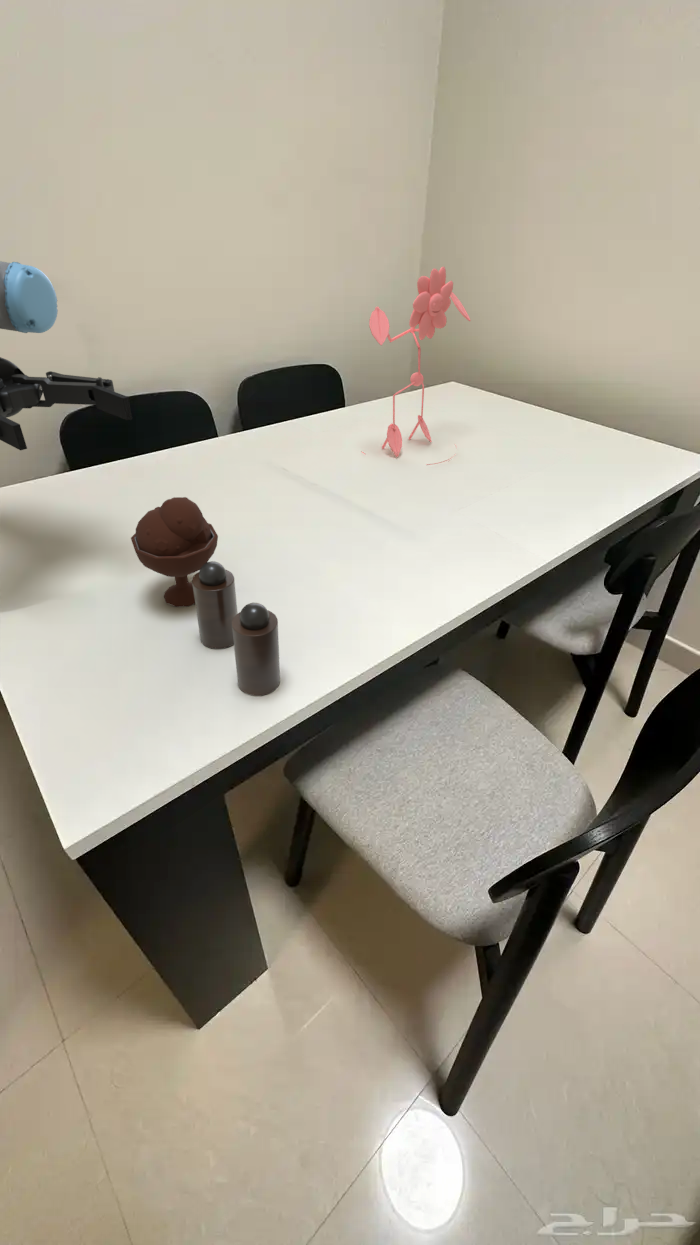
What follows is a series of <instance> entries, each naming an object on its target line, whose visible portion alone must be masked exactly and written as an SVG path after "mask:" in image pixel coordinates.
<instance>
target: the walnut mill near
mask: <svg viewBox="0 0 700 1245" xmlns="http://www.w3.org/2000/svg"><path fill="white" fill-rule="evenodd" d="M278 621H279V620H278V617H277V616H276V614H275V613H273V612H272V611H270V610H268V608H267V607H266V606H265V605H264V604H262V603H259V602H250V603H248V604H245V605H244V606H243V607H242V609H241V610H240V611H239V612H238V614H237V615H236V616H235V617H234V618H233V620H232V631H233V641H234V644H233V649H234V650H233V651H234V658H235V659H234V660H235V669H236V680H237V686H238V688H239V689H240V690H241V691H242V692H243V693H244V694H246V695H248V696H249V695H250V696H254V697H260V696H266V695H269V694H271V693H272V692H274V691H276V690H277V688H278V687H279V685H280V684H281V668H280V643H279V642H280V641H279V639H280V638H279V622H278Z"/></svg>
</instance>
